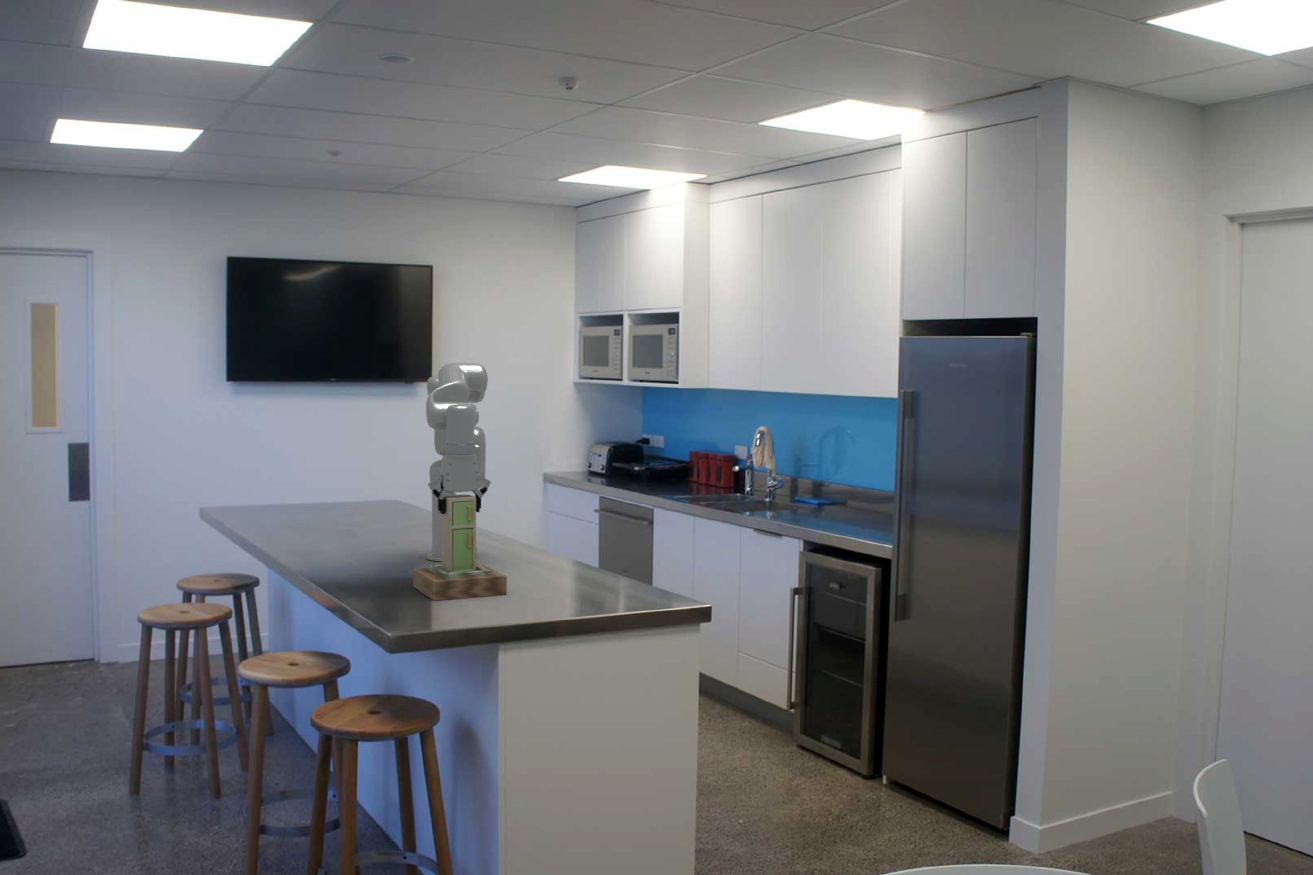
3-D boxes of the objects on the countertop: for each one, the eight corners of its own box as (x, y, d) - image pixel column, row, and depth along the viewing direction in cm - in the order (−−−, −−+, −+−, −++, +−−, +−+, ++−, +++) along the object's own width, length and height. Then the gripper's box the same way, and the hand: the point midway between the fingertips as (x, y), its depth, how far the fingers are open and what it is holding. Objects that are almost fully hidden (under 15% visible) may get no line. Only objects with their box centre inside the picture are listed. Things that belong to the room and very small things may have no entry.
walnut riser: (482, 581, 320) (482, 559, 319) (506, 594, 302) (506, 571, 302) (413, 586, 311) (413, 564, 310) (434, 600, 293) (434, 577, 292)
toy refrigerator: (449, 575, 301) (449, 498, 300) (440, 571, 308) (440, 495, 306) (477, 573, 305) (477, 497, 304) (468, 569, 311) (468, 494, 310)
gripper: (485, 448, 311) (485, 508, 313) (424, 449, 303) (424, 512, 305) (494, 450, 305) (494, 512, 306) (432, 452, 297) (432, 516, 298)
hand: (459, 512), depth 305 cm, fingers open, 9 cm apart
